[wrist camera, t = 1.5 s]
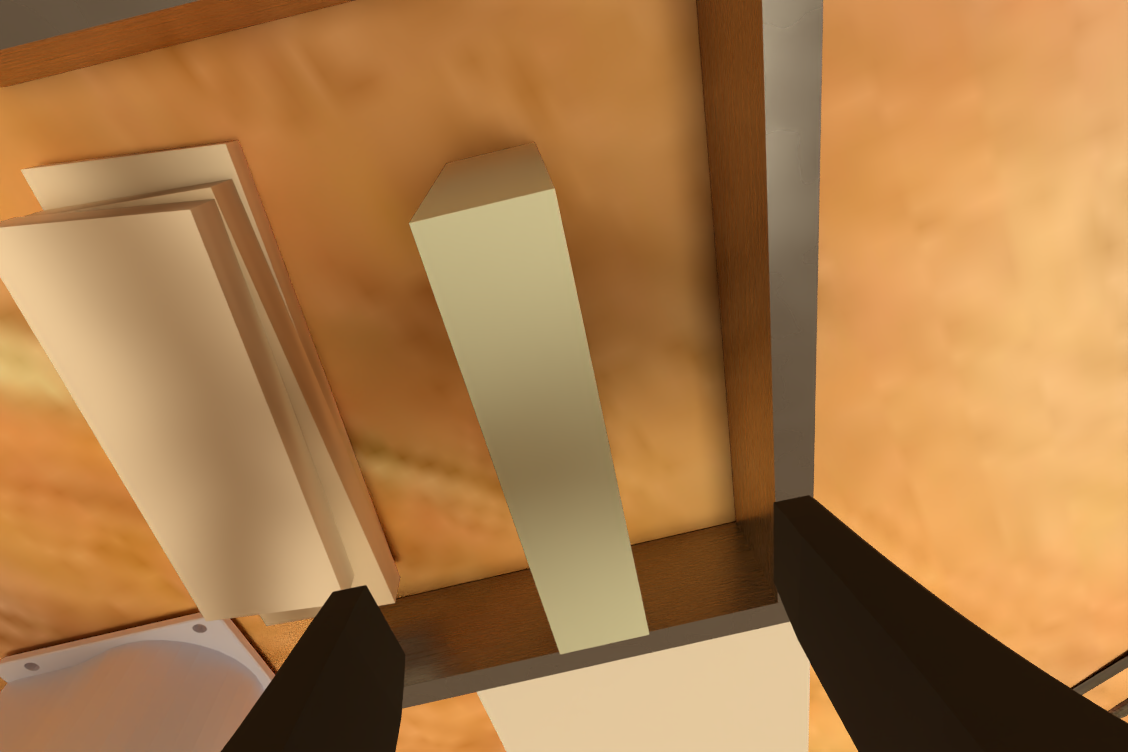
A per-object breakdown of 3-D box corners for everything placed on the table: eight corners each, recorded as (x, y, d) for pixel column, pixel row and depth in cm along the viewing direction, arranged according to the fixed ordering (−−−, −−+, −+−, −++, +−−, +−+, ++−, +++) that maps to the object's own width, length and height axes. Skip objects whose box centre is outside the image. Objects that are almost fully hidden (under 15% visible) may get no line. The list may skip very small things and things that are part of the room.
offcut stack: (269, 577, 22) (231, 660, 19) (46, 163, 15) (-79, 188, 12) (406, 557, 23) (390, 634, 20) (258, 136, 15) (193, 154, 12)
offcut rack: (351, 629, 24) (324, 725, 20) (-32, 29, 13) (-232, 14, 9) (765, 535, 23) (811, 616, 20) (736, -163, 12) (828, -253, 9)
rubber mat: (555, 840, 35) (555, 849, 34) (460, 648, 25) (460, 659, 25) (803, 785, 35) (807, 794, 34) (806, 570, 25) (811, 579, 24)
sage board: (543, 486, 21) (560, 654, 15) (446, 162, 15) (408, 223, 9) (607, 471, 21) (649, 634, 15) (534, 141, 15) (554, 188, 9)
